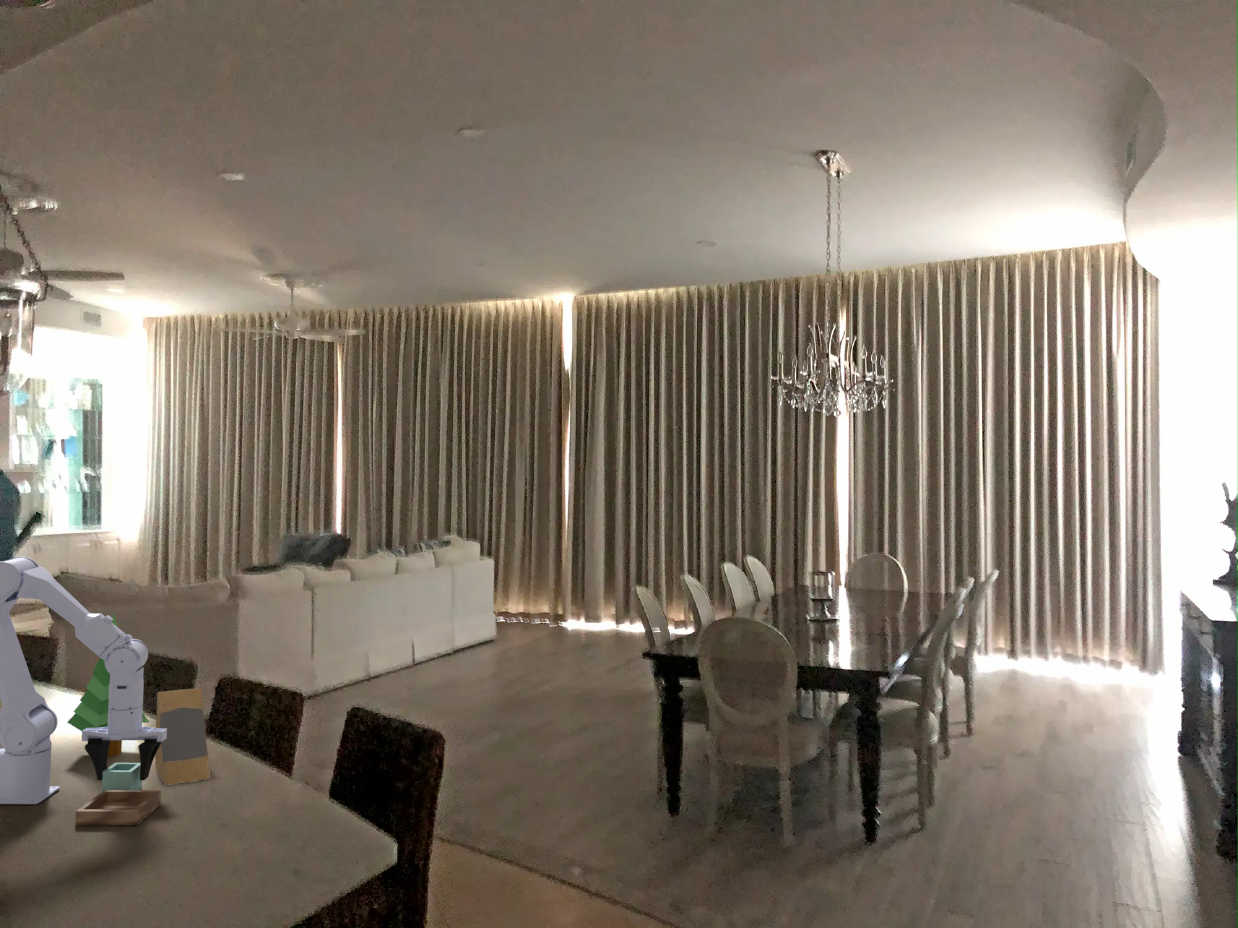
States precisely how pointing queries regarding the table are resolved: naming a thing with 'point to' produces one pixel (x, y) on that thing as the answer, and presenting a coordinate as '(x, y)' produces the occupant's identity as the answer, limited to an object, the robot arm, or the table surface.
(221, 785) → the table surface
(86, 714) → the decorative tree
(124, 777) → the box
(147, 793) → the walnut crate
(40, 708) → the robot arm
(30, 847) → the table surface
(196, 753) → the sandwich container
